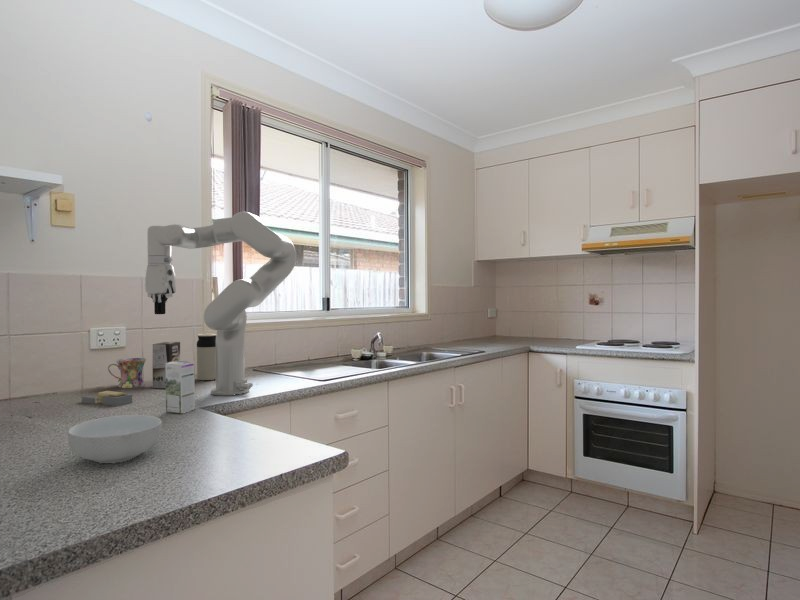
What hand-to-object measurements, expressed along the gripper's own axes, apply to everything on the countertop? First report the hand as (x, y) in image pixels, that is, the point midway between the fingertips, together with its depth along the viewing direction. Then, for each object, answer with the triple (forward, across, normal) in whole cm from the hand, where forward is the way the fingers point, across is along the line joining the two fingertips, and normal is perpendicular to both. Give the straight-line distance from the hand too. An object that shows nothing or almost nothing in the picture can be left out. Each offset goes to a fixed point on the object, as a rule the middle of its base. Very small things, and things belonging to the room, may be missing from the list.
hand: (160, 314), depth 171 cm
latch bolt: (+26, -6, +23) cm, 35 cm away
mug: (+27, +14, +2) cm, 31 cm away
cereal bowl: (+27, -50, +54) cm, 79 cm away
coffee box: (+27, +6, -8) cm, 29 cm away
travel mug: (+27, +3, -25) cm, 37 cm away
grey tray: (+27, -4, +23) cm, 36 cm away
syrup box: (+27, -30, +19) cm, 45 cm away
